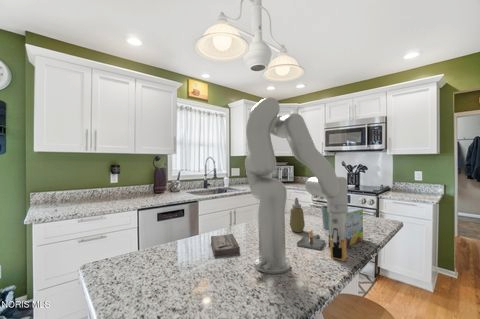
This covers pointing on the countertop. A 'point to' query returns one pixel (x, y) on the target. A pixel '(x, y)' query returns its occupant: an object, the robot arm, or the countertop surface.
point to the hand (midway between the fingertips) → (338, 254)
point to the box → (224, 245)
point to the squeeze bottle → (297, 217)
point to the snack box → (353, 226)
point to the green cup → (325, 217)
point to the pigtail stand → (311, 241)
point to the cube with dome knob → (343, 246)
